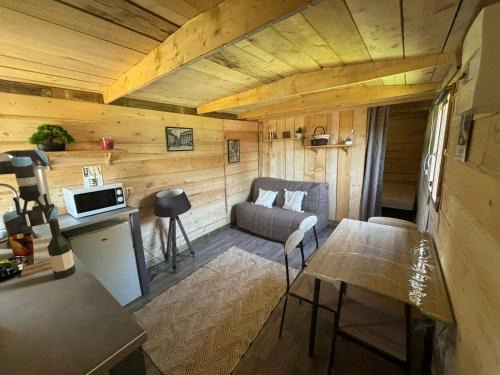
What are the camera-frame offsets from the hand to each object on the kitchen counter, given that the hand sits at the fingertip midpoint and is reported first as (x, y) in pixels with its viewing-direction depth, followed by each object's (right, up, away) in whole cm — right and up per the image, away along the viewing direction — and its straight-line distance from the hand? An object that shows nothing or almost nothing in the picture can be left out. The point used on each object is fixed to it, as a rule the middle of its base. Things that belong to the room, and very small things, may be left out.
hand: (37, 224), depth 122 cm
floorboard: (+10, -23, -7) cm, 26 cm away
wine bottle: (+28, -24, -14) cm, 39 cm away
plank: (+1, -16, +3) cm, 16 cm away
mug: (-14, -20, +9) cm, 26 cm away
